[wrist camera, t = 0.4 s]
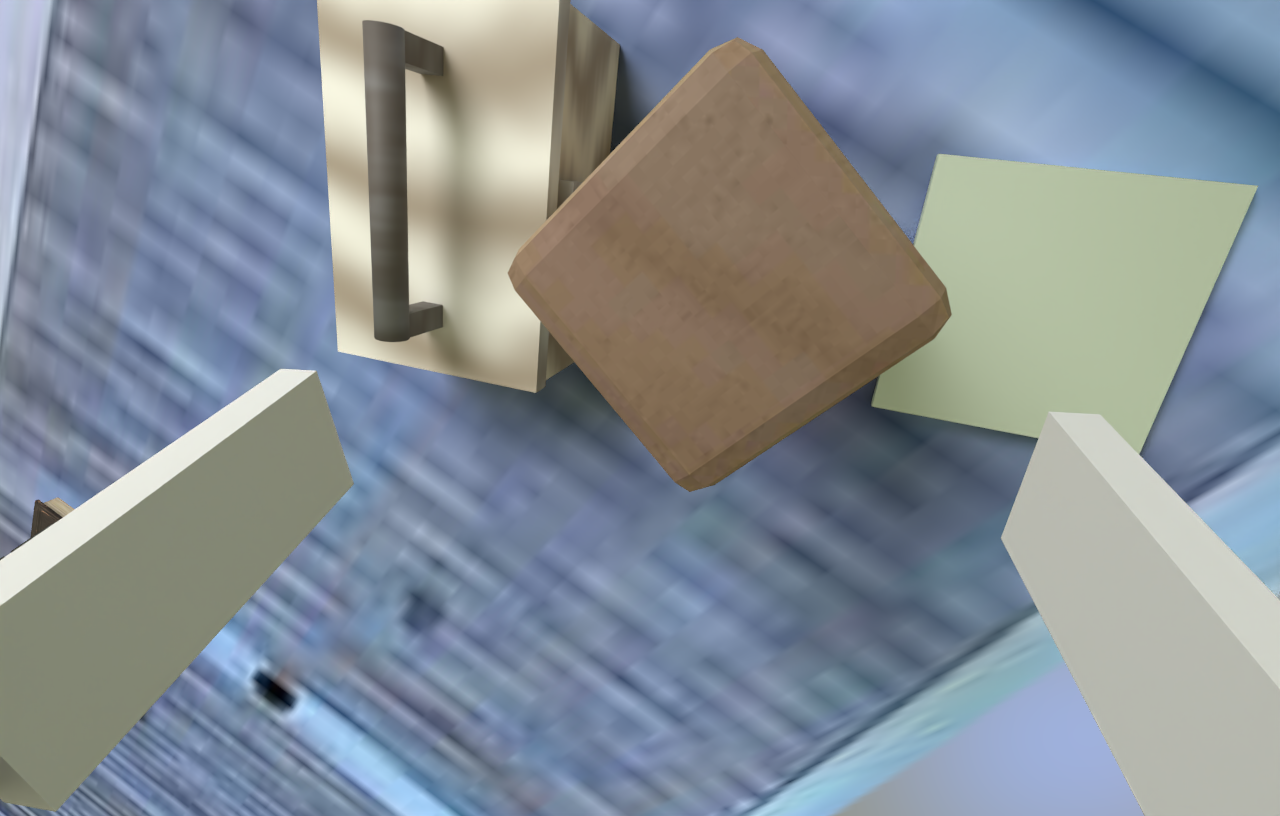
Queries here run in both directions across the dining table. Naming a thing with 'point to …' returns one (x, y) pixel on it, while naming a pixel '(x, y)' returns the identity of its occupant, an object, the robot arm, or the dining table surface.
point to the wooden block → (727, 272)
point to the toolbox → (455, 171)
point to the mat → (1061, 292)
